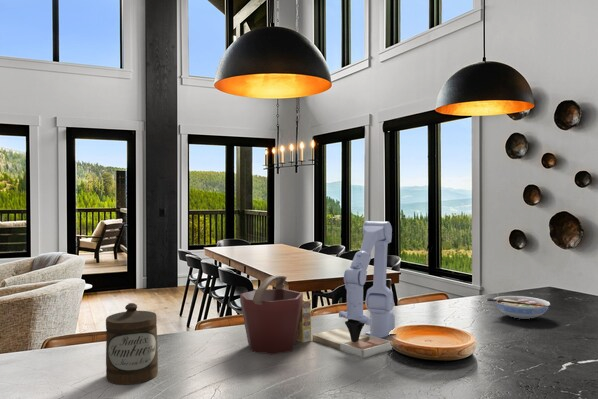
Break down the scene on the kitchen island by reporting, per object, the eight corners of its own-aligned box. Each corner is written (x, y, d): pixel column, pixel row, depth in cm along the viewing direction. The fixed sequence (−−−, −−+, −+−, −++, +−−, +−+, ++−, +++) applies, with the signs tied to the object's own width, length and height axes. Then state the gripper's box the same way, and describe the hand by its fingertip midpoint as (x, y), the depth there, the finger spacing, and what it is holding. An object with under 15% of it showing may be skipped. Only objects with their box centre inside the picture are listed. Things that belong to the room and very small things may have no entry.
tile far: (371, 344, 175) (371, 351, 175) (361, 341, 179) (361, 348, 179) (361, 347, 172) (361, 354, 172) (351, 343, 176) (351, 350, 176)
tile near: (387, 341, 178) (387, 348, 178) (376, 338, 182) (376, 345, 182) (377, 344, 175) (377, 351, 175) (366, 341, 179) (366, 348, 179)
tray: (370, 341, 188) (370, 335, 188) (393, 349, 179) (393, 342, 179) (340, 349, 178) (340, 342, 178) (362, 357, 170) (362, 350, 170)
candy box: (311, 341, 189) (311, 300, 188) (302, 343, 186) (302, 301, 186) (298, 335, 196) (298, 295, 196) (289, 337, 194) (289, 297, 194)
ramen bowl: (556, 316, 225) (556, 297, 225) (549, 328, 206) (549, 307, 206) (496, 309, 239) (496, 291, 238) (485, 319, 219) (485, 300, 219)
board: (342, 332, 200) (342, 327, 200) (369, 341, 188) (369, 336, 188) (312, 339, 190) (312, 334, 190) (339, 349, 179) (339, 344, 179)
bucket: (270, 333, 199) (270, 269, 198) (318, 343, 186) (317, 275, 186) (227, 349, 179) (226, 278, 178) (277, 361, 166) (276, 285, 166)
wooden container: (107, 388, 144) (106, 311, 144) (105, 371, 158) (104, 300, 157) (161, 380, 150) (160, 306, 150) (154, 364, 164) (153, 296, 163)
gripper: (332, 300, 181) (332, 338, 181) (361, 308, 170) (361, 348, 170) (347, 298, 186) (347, 335, 186) (376, 305, 174) (376, 344, 174)
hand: (355, 341), depth 178 cm, fingers closed
